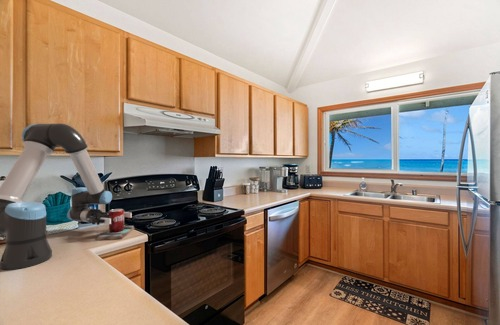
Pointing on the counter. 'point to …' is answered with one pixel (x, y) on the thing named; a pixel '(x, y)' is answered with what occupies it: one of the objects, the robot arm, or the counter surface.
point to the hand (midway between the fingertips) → (121, 218)
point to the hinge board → (115, 234)
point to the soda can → (116, 220)
